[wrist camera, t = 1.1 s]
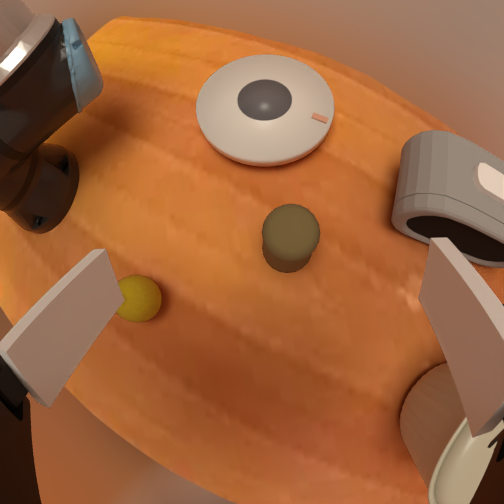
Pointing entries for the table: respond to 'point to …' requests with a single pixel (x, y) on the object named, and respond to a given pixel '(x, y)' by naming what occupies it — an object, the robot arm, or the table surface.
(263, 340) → the table surface
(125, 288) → the lemon
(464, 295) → the robot arm
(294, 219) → the cork
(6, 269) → the table surface
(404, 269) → the table surface
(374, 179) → the table surface
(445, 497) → the canister
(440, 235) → the alarm clock
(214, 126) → the turntable
